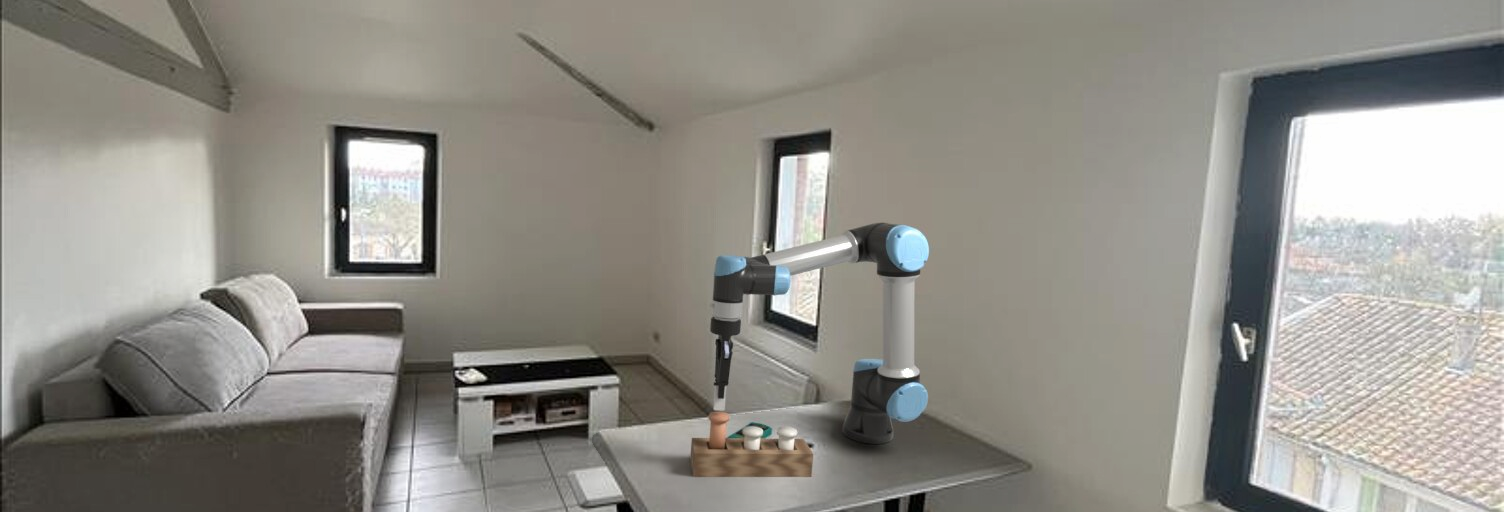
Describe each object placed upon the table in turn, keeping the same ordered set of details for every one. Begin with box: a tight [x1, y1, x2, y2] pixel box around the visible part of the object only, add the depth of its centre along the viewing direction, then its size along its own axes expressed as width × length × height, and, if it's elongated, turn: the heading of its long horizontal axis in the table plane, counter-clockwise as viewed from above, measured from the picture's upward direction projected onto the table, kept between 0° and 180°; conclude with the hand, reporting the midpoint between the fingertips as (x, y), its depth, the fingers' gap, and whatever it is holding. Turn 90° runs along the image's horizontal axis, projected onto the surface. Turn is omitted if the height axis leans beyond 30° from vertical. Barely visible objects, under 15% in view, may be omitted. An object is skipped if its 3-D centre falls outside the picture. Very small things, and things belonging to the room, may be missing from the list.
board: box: [689, 437, 814, 478], centre depth 174 cm, size 30×10×6 cm, turn 100°
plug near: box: [776, 426, 798, 450], centre depth 175 cm, size 5×5×9 cm
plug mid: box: [742, 426, 763, 450], centre depth 174 cm, size 5×5×9 cm
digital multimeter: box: [727, 421, 773, 439], centre depth 194 cm, size 7×15×3 cm, turn 154°
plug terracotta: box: [708, 411, 730, 450], centre depth 172 cm, size 5×5×9 cm
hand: (719, 409), depth 171 cm, fingers closed
